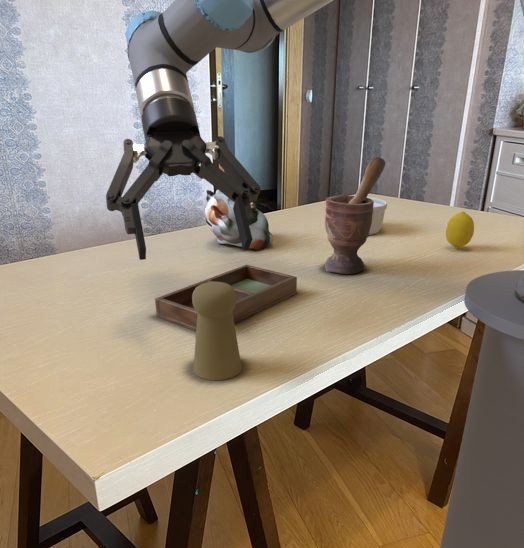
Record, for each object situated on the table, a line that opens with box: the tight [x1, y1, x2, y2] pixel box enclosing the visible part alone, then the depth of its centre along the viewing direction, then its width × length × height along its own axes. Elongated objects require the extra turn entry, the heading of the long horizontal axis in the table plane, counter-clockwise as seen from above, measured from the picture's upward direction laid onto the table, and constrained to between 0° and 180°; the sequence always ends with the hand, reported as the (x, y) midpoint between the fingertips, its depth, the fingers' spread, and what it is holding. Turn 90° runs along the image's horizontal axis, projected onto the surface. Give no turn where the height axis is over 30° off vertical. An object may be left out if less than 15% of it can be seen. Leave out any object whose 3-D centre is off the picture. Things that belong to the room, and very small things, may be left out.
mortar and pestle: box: [324, 156, 386, 275], centre depth 98 cm, size 12×9×20 cm
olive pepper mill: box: [192, 282, 243, 381], centre depth 64 cm, size 6×6×11 cm
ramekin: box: [366, 196, 388, 236], centre depth 127 cm, size 13×13×7 cm
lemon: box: [445, 210, 475, 250], centre depth 112 cm, size 6×6×8 cm
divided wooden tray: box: [154, 264, 298, 332], centre depth 85 cm, size 11×21×3 cm, turn 142°
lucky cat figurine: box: [204, 189, 274, 251], centre depth 114 cm, size 15×12×14 cm
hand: (196, 249), depth 68 cm, fingers open, 13 cm apart
